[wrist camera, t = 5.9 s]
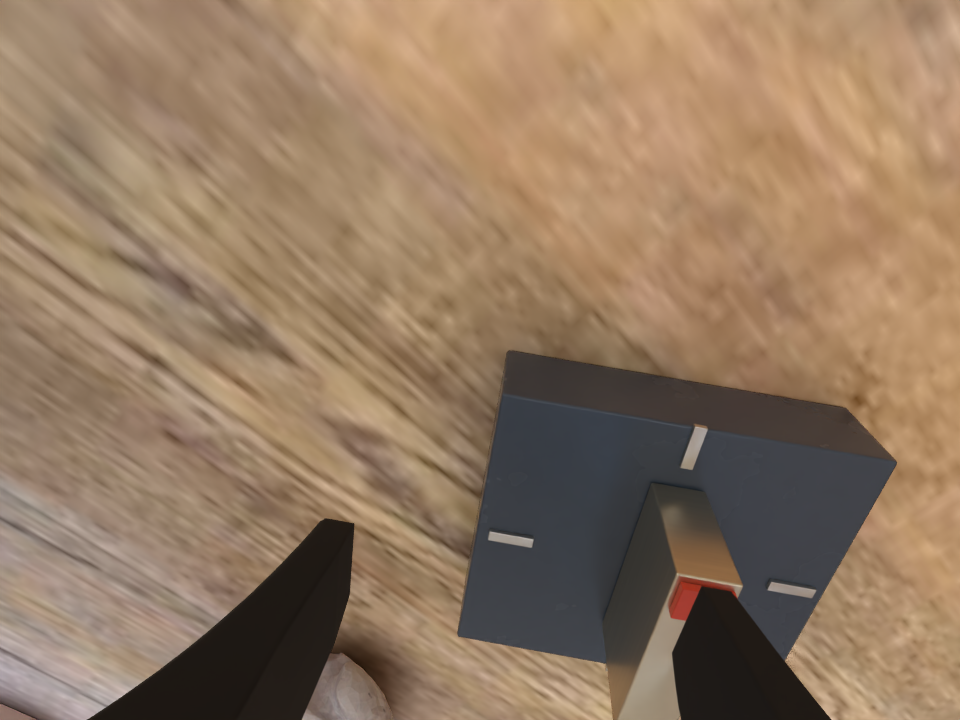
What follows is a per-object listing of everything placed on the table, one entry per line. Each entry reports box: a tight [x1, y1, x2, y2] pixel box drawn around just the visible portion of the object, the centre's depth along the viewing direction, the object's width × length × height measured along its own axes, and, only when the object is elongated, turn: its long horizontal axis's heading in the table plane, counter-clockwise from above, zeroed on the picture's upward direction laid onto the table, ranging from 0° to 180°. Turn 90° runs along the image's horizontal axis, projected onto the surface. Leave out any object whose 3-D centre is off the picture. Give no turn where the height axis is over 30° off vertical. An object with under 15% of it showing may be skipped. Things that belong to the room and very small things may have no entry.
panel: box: [457, 350, 897, 671], centre depth 19 cm, size 11×10×3 cm
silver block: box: [602, 483, 743, 720], centre depth 16 cm, size 6×2×4 cm, turn 172°
